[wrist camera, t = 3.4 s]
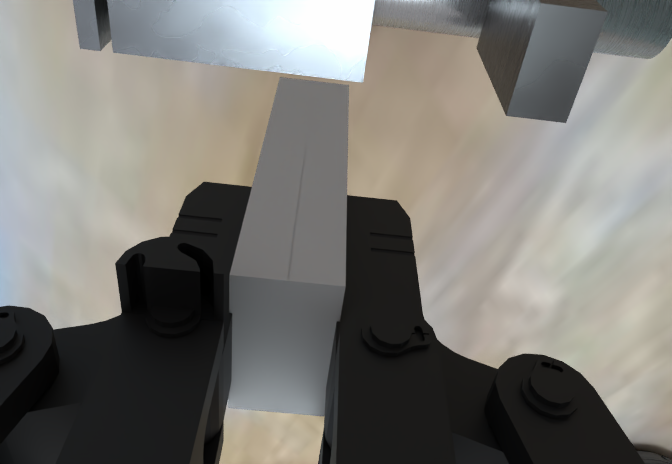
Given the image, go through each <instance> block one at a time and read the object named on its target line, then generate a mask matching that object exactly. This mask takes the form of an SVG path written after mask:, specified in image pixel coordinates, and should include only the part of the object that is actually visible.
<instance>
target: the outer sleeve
mask: <svg viewBox="0 0 672 464" xmlns="http://www.w3.org/2000/svg"><path fill="white" fill-rule="evenodd" d="M374 3H375V0H73V4H74V11H75V18H76V25H77V31H78V38H79V45H80V49H88V50H97V51H101V50H102V49H103V48H104V47H105V46H106V45H107V44H108V43H109V42H110V40H111V39H112V47H113V53H122V54H130V55H138V56H147V57H155V58H163V59H172V60H180V61H188V62H196V63H205V64H213V65H221V66H230V67H238V68H246V69H255V70H263V71H271V72H280V73H288V74H296V75H305V76H313V77H321V78H329V79H338V80H346V81H354V82H363V78H364V71H365V64H366V57H367V51H368V44H369V37H370V30H371V23H372V17H373V10H374Z"/></svg>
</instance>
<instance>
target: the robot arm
mask: <svg viewBox="0 0 672 464" xmlns="http://www.w3.org/2000/svg"><path fill="white" fill-rule="evenodd" d="M348 104H349V85H343V84H335V83H326V82H318V81H309V80H300V79H292V78H283V77H280V79H279V83H278V87H277V91H276V95H275V99H274V103H273V107H272V111H271V115H270V118H269V122H268V126H267V130H266V134H265V138H264V142H263V146H262V150H261V154H260V158H259V161H258V165H257V169H256V173H255V177H254V181H253V185H252V187H248V186H239V185H229V184H220V183H211V182H203V183H202V184H201V185H199V186H198V187H197V188H196V189H194V190H193V191H192V192H191V193H189V194H188V195H187V196H186V198H185V200H184V203H183V205H182V208H181V210H180V212H179V217H178V218H177V220H176V222H175V225H174V227H173V231H172V233H171V234H170V237H159V238H155V239H151V240H147V241H143V242H141V243H139V244H137V245H136V246H134V247H132V248H130V249H128V250H127V251H125V253H124V254H123V255H122V256H121V257H120V258H119V260H118V261H117V262H116V263H115V265H116V272H117V279H118V287H119V294H120V301H121V308H122V313H121V315H119V316H117V317H114V318H112V319H109V320H107V321H103V322H99V323H94V324H90V325H83V326H76V327H69V328H62V329H55V330H53V328H52V326H51V325H50V323H49V322H48V320H47V319H46V317H45V316H44V315H42V314H40V313H38V312H36V311H34V310H32V309H30V308H24V307H16V306H3V307H0V464H219V461H220V456H221V451H222V445H223V420H224V415H225V410H226V405H227V400H228V408H236V409H247V410H258V411H269V412H281V413H292V414H303V415H314V416H324V415H325V420H324V431H323V437H322V443H321V449H320V455H319V461H318V464H645V463H644V461H643V460H642V458H641V457H640V455H639V454H638V452H637V451H636V449H635V448H634V446H633V445H632V443H631V442H630V440H629V439H628V437H627V436H626V435H625V433H624V432H623V430H622V429H621V427H620V426H619V424H618V423H617V421H616V420H615V418H614V417H613V415H612V414H611V412H610V411H609V409H608V408H607V406H606V405H605V403H604V402H603V400H602V399H601V398H600V396H599V395H598V393H597V392H596V390H595V389H594V387H593V386H592V385H591V384H590V383H589V382H588V381H587V380H586V379H585V378H584V377H583V375H582V374H581V373H579V372H578V371H576V370H575V369H573V368H572V367H570V366H569V365H567V364H565V363H564V362H562V361H559V360H556V359H554V358H551V357H548V356H545V355H538V354H521V355H518V356H514V357H511V358H509V359H507V360H506V361H505V362H504V363H503V364H502V365H501V366H500V367H499V369H496V368H493V367H490V366H487V365H485V364H482V363H479V362H476V361H473V360H471V359H468V358H466V357H464V356H461V355H459V354H457V353H455V352H453V351H452V350H450V349H449V348H447V347H446V346H444V345H443V344H441V343H440V342H439V341H438V340H437V338H436V336H435V333H434V331H433V328H432V327H431V326H430V325H429V324H428V323H427V322H426V321H425V320H424V316H423V312H422V305H421V297H420V289H419V282H418V274H417V267H416V259H415V256H414V253H415V251H414V244H413V240H412V237H413V236H412V229H411V221H410V217H409V216H408V215H407V213H406V212H405V211H404V209H403V208H402V207H401V205H400V204H399V203H398V202H397V201H395V200H386V199H377V198H368V197H358V196H349V195H347V165H348Z"/></svg>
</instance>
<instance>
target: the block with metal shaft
mask: <svg viewBox="0 0 672 464" xmlns="http://www.w3.org/2000/svg"><path fill="white" fill-rule="evenodd" d="M371 25H377V26H385V27H393V28H401V29H409V30H417V31H425V32H433V33H441V34H449V35H457V36H465V37H473V38H479V41H478V45H477V50H478V53H479V55H480V57H481V59H482V62H483V64H484V66H485V69H486V71H487V73H488V75H489V78H490V80H491V82H492V84H493V87H494V89H495V91H496V94H497V96H498V98H499V100H500V103H501V105H502V107H503V110H504V112H505V114H506V116H513V117H521V118H530V119H538V120H546V121H555V122H563V123H566V121H567V119H568V116H569V114H570V111H571V108H572V106H573V103H574V100H575V98H576V95H577V92H578V90H579V87H580V84H581V82H582V79H583V77H584V74H585V71H586V69H587V66H588V63H589V61H590V58H591V55H592V53H593V52H594V53H602V54H610V55H618V56H626V57H634V58H642V59H651V58H653V57H655V56H656V55H658V54H659V53H660V52H661V51H662V50H663V49H664V48H665V47H666V45H667V44H668V42H669V41H670V39H671V38H672V0H375V3H374V10H373V17H372V23H371Z"/></svg>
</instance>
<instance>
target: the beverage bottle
mask: <svg viewBox="0 0 672 464" xmlns="http://www.w3.org/2000/svg"><path fill="white" fill-rule="evenodd" d="M637 452H638V454H639V455H640V457H641V458H642V460H643V461H644V463H645V464H672V460H670V459H669V458H667V457H665V456H663V455H662V456H660V455H659V454H656V453H652V452H644V451H637Z"/></svg>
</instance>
